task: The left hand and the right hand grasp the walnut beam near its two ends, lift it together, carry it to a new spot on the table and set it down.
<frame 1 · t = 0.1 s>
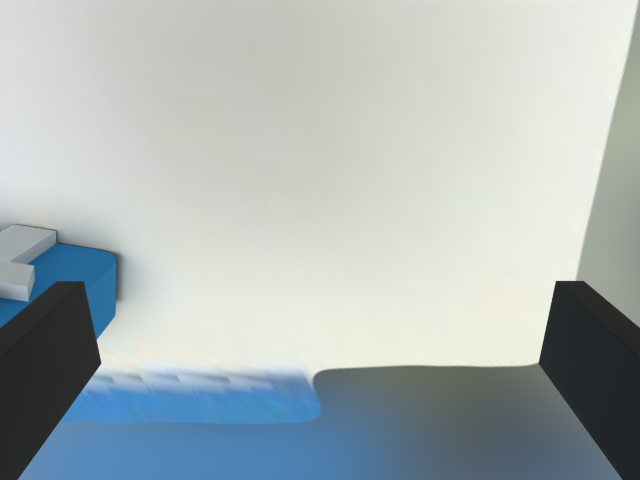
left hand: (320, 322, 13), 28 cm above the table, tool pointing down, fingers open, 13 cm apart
logo: (19, 263, 43), on the table
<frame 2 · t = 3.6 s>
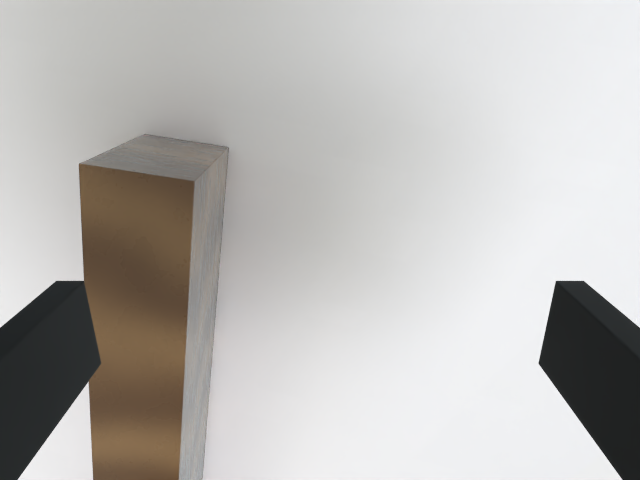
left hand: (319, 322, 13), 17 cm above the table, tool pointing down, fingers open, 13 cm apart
beam: (172, 467, 38), on the table
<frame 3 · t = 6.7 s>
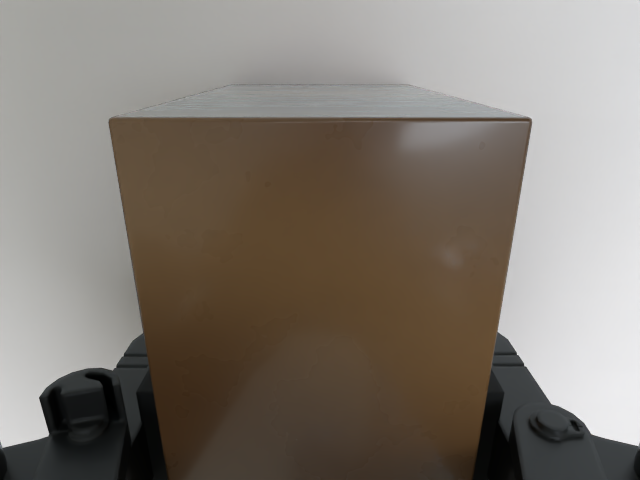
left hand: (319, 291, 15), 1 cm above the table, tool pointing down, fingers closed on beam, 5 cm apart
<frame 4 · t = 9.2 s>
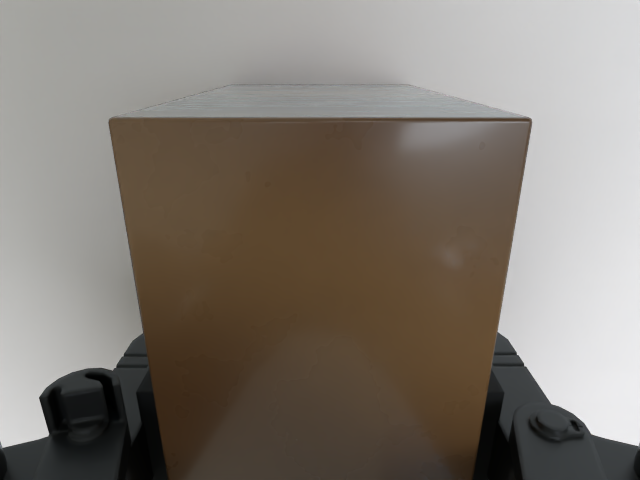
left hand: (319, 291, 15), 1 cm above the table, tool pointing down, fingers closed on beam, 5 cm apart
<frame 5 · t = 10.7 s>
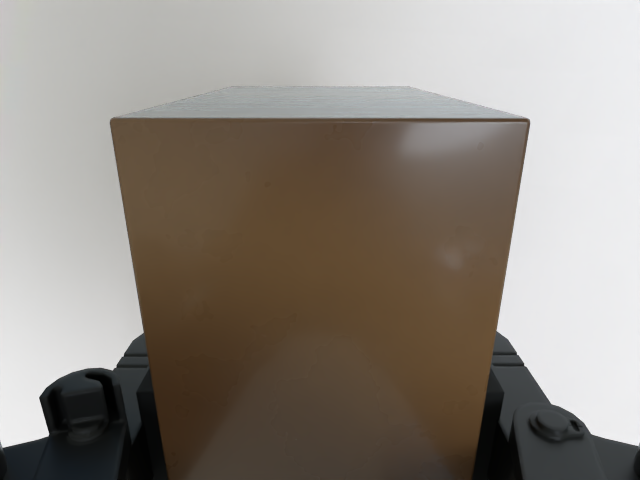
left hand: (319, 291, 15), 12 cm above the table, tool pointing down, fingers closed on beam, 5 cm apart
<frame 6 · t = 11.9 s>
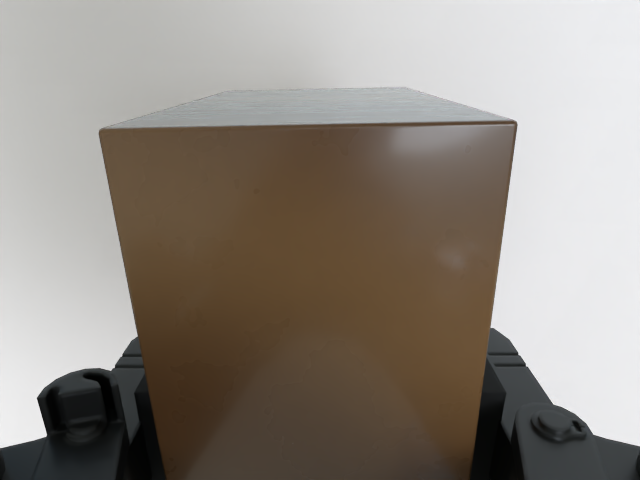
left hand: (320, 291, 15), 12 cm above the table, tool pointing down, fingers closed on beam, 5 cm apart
when the left hand's fingers open (2 cm above the table, at t = 15.0 s): beam drops 1 cm, on the table.
when the right hand's fingers open (2 cm above the table, at t = 15.1 s): beam drops 1 cm, on the table.
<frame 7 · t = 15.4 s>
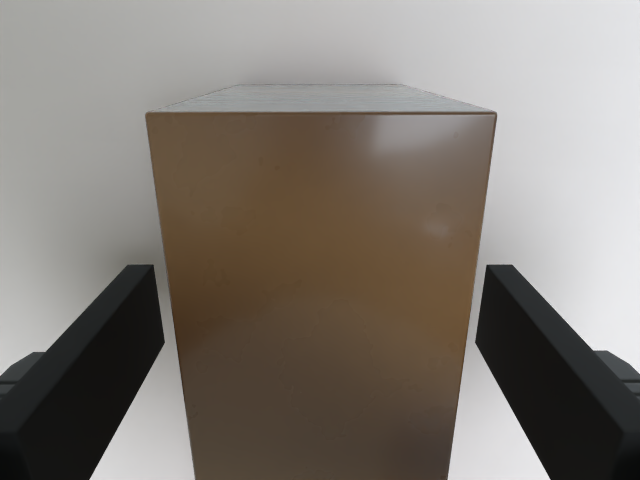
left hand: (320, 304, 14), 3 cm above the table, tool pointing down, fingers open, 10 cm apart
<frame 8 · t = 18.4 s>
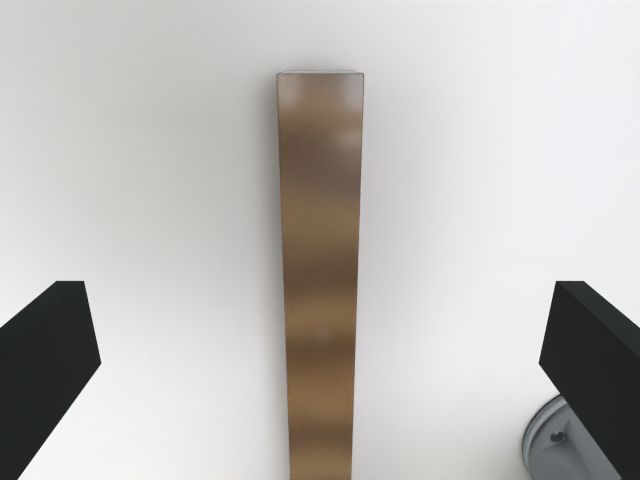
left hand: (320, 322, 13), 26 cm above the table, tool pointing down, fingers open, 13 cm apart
beam: (320, 371, 44), on the table
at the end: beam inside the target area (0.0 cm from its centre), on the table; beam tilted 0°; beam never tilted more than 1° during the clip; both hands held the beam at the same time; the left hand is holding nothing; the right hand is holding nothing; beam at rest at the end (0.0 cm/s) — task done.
